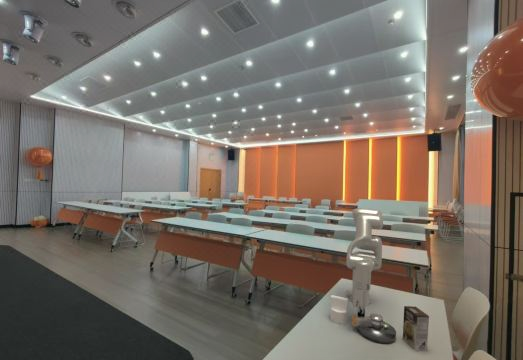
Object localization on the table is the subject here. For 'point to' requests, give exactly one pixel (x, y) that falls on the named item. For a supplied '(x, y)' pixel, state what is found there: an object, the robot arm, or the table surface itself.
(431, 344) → the table surface
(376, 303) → the table surface
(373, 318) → the orange-tipped joystick
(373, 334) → the dark round disc base
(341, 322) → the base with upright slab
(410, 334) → the coffee box
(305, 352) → the table surface
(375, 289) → the table surface
